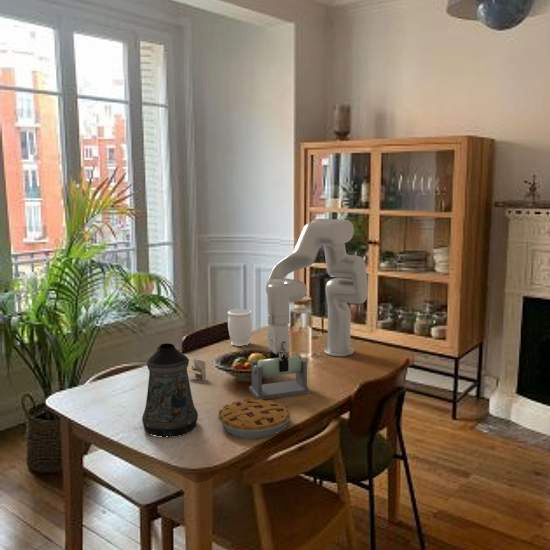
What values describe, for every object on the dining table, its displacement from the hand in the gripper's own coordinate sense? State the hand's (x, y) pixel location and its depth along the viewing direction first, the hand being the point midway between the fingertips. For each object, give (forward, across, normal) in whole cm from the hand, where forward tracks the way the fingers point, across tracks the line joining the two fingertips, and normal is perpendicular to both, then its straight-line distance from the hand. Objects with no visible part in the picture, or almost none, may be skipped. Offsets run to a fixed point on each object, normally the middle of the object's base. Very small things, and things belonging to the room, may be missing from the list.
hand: (279, 366), depth 202 cm
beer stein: (+9, +14, -41) cm, 44 cm away
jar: (+9, -59, +2) cm, 60 cm away
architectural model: (+10, -22, -24) cm, 34 cm away
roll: (+3, 0, 0) cm, 3 cm away
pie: (+9, +23, -16) cm, 30 cm away
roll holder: (+9, 0, 0) cm, 9 cm away
